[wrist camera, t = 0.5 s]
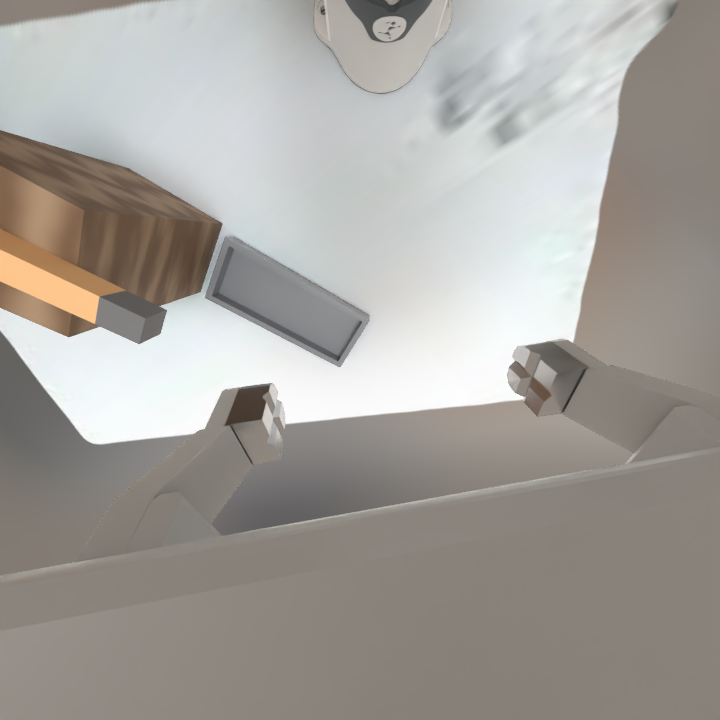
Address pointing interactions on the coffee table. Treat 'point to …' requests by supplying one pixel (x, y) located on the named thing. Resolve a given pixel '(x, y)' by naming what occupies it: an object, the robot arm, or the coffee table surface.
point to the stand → (99, 228)
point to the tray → (284, 302)
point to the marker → (77, 290)
